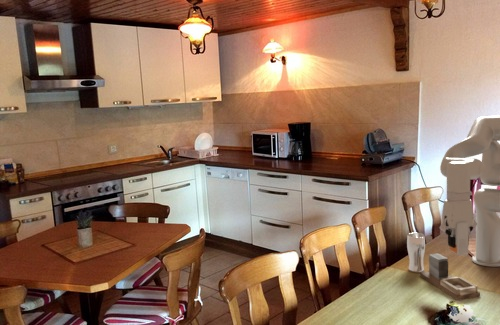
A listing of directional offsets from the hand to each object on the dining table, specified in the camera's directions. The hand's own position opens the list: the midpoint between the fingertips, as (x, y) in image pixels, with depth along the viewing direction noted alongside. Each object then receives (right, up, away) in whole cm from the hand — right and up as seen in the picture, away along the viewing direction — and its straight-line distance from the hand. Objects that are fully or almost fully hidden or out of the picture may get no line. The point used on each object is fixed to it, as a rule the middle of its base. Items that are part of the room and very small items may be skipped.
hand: (458, 245), depth 159 cm
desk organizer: (0, -17, +8) cm, 19 cm away
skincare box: (0, -3, 0) cm, 3 cm away
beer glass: (-5, -15, +25) cm, 30 cm away
